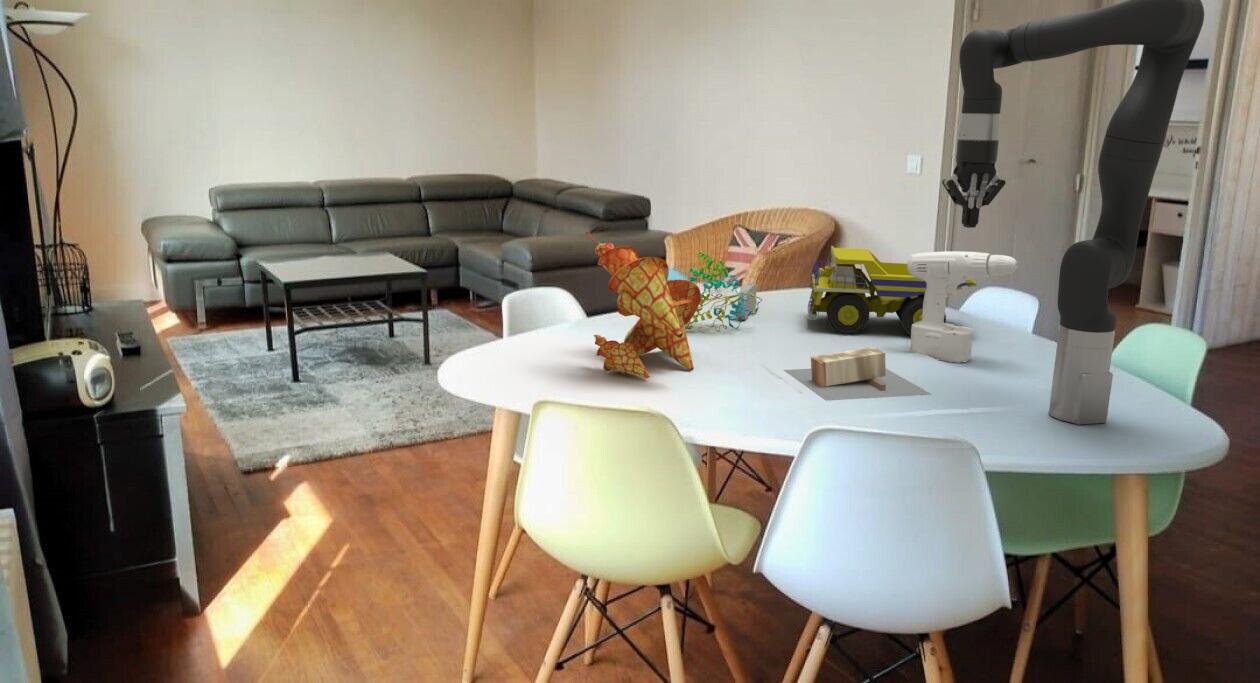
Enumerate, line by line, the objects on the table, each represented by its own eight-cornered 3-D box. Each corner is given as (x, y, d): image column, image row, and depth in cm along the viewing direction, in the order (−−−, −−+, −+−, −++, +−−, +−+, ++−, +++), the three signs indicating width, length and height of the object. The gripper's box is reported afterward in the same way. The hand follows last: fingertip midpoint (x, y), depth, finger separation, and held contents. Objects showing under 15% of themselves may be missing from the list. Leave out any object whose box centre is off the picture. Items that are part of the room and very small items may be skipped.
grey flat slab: (747, 308, 269) (749, 279, 267) (755, 308, 268) (757, 280, 266) (735, 322, 251) (737, 291, 249) (744, 323, 250) (745, 292, 248)
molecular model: (680, 254, 228) (693, 232, 241) (656, 326, 239) (670, 301, 252) (767, 287, 226) (776, 263, 239) (739, 358, 237) (748, 332, 250)
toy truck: (972, 342, 231) (980, 263, 227) (808, 335, 238) (812, 257, 233) (955, 322, 254) (962, 249, 249) (806, 315, 260) (810, 244, 255)
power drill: (999, 371, 205) (1011, 258, 199) (894, 353, 220) (902, 247, 214) (1011, 363, 212) (1023, 254, 206) (908, 346, 226) (917, 243, 220)
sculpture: (682, 316, 179) (588, 193, 193) (604, 408, 192) (521, 287, 207) (771, 315, 204) (682, 207, 219) (696, 397, 217) (617, 289, 232)
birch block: (885, 352, 190) (820, 363, 187) (885, 376, 191) (821, 387, 189) (873, 346, 194) (810, 357, 192) (874, 369, 196) (811, 380, 193)
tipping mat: (931, 399, 185) (932, 388, 184) (825, 405, 180) (826, 394, 180) (879, 369, 206) (880, 359, 205) (783, 374, 201) (783, 364, 200)
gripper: (957, 138, 176) (949, 230, 180) (1020, 138, 179) (1010, 229, 183) (937, 137, 183) (929, 225, 188) (997, 137, 186) (988, 224, 190)
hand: (969, 227), depth 185 cm, fingers closed
